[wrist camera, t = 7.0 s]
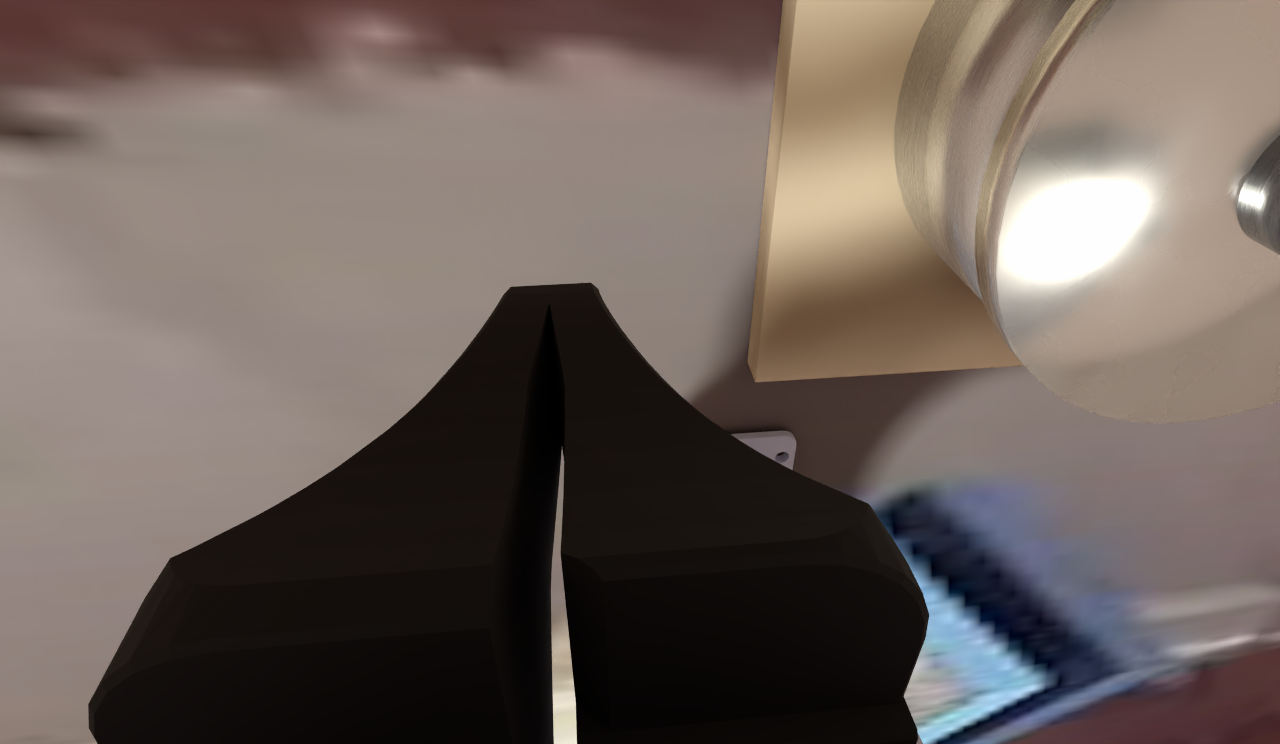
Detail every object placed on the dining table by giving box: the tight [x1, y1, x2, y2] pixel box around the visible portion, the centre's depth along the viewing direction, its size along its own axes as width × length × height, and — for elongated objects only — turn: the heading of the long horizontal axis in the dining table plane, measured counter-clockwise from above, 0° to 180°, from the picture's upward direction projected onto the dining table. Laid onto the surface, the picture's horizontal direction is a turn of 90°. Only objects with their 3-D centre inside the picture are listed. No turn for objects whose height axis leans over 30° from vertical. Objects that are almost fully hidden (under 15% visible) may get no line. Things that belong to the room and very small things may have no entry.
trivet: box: [747, 0, 1024, 382], centre depth 20 cm, size 18×18×1 cm
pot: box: [894, 0, 1076, 303], centre depth 16 cm, size 16×12×5 cm
